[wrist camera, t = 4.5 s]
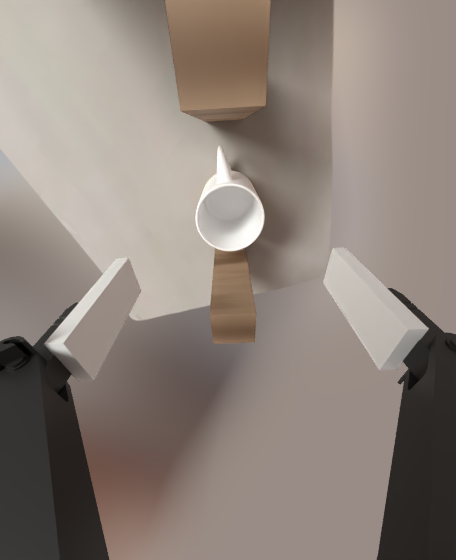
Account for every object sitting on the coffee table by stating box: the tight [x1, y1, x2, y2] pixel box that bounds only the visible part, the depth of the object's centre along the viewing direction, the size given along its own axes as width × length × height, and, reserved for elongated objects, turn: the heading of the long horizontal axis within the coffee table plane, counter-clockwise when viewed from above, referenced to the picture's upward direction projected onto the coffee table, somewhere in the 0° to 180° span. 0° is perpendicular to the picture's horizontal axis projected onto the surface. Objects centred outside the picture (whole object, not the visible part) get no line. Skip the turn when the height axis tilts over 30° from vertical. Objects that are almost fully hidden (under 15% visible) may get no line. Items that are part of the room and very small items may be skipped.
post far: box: [210, 248, 256, 344], centre depth 32 cm, size 5×5×20 cm
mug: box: [196, 146, 265, 251], centre depth 29 cm, size 9×12×11 cm
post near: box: [165, 0, 271, 122], centre depth 19 cm, size 5×5×20 cm
